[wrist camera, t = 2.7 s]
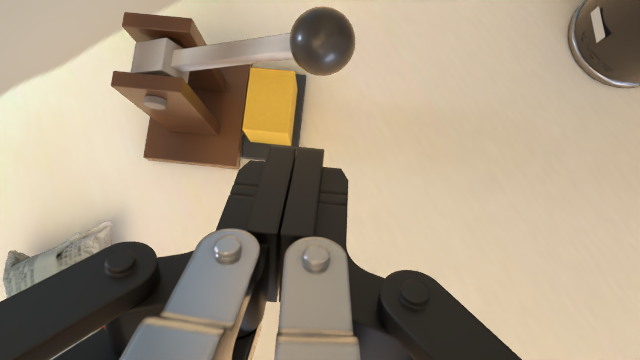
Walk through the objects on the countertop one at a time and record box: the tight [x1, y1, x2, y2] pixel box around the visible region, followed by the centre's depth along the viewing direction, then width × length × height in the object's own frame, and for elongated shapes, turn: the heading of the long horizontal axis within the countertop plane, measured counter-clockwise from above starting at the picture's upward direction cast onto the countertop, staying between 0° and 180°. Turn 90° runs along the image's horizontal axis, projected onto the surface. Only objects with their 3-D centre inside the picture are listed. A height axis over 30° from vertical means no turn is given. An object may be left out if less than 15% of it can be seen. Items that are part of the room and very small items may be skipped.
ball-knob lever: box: [131, 7, 355, 83], centre depth 27 cm, size 15×4×4 cm, turn 85°
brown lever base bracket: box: [111, 12, 252, 169], centre depth 33 cm, size 8×10×12 cm
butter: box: [242, 67, 306, 161], centre depth 37 cm, size 5×8×5 cm, turn 174°
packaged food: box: [3, 221, 112, 360], centre depth 34 cm, size 9×12×5 cm
